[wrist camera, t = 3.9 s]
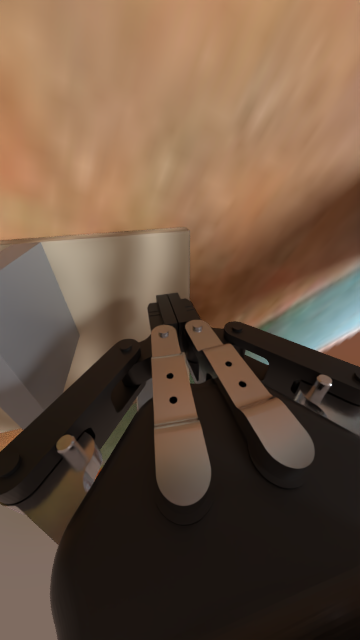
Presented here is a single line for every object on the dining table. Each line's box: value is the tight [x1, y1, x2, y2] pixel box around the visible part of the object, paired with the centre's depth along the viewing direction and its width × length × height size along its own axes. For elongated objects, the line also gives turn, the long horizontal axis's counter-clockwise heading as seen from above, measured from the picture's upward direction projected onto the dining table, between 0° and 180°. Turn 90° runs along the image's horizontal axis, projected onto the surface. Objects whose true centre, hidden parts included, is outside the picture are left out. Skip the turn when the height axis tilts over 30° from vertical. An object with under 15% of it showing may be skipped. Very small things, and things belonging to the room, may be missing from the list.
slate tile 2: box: [137, 378, 153, 411], centre depth 19 cm, size 2×8×8 cm, turn 2°
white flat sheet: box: [0, 227, 190, 433], centre depth 19 cm, size 26×20×2 cm
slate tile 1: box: [0, 242, 80, 430], centre depth 12 cm, size 2×8×8 cm, turn 2°
